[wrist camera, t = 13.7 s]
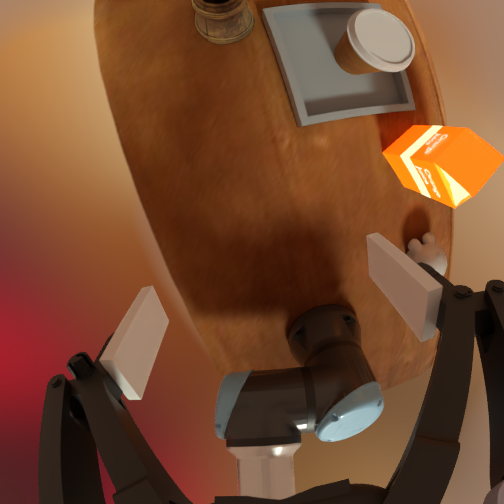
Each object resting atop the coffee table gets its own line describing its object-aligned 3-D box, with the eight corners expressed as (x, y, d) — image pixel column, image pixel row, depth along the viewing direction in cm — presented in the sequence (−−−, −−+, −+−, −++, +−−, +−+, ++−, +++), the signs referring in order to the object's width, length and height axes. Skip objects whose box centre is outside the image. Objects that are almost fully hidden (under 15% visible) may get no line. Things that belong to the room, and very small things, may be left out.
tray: (405, 110, 36) (416, 109, 33) (297, 127, 38) (302, 126, 35) (371, 10, 28) (379, 3, 25) (261, 17, 30) (262, 8, 27)
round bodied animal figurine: (397, 275, 52) (413, 308, 46) (405, 236, 44) (427, 271, 38) (423, 265, 51) (441, 296, 45) (434, 226, 43) (458, 259, 37)
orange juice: (433, 159, 40) (512, 182, 21) (403, 187, 42) (480, 223, 24) (412, 124, 37) (495, 130, 19) (381, 151, 39) (461, 169, 21)
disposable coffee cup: (335, 23, 30) (363, -7, 19) (385, 53, 31) (424, 35, 20) (314, 65, 33) (339, 41, 22) (367, 95, 35) (406, 85, 24)
